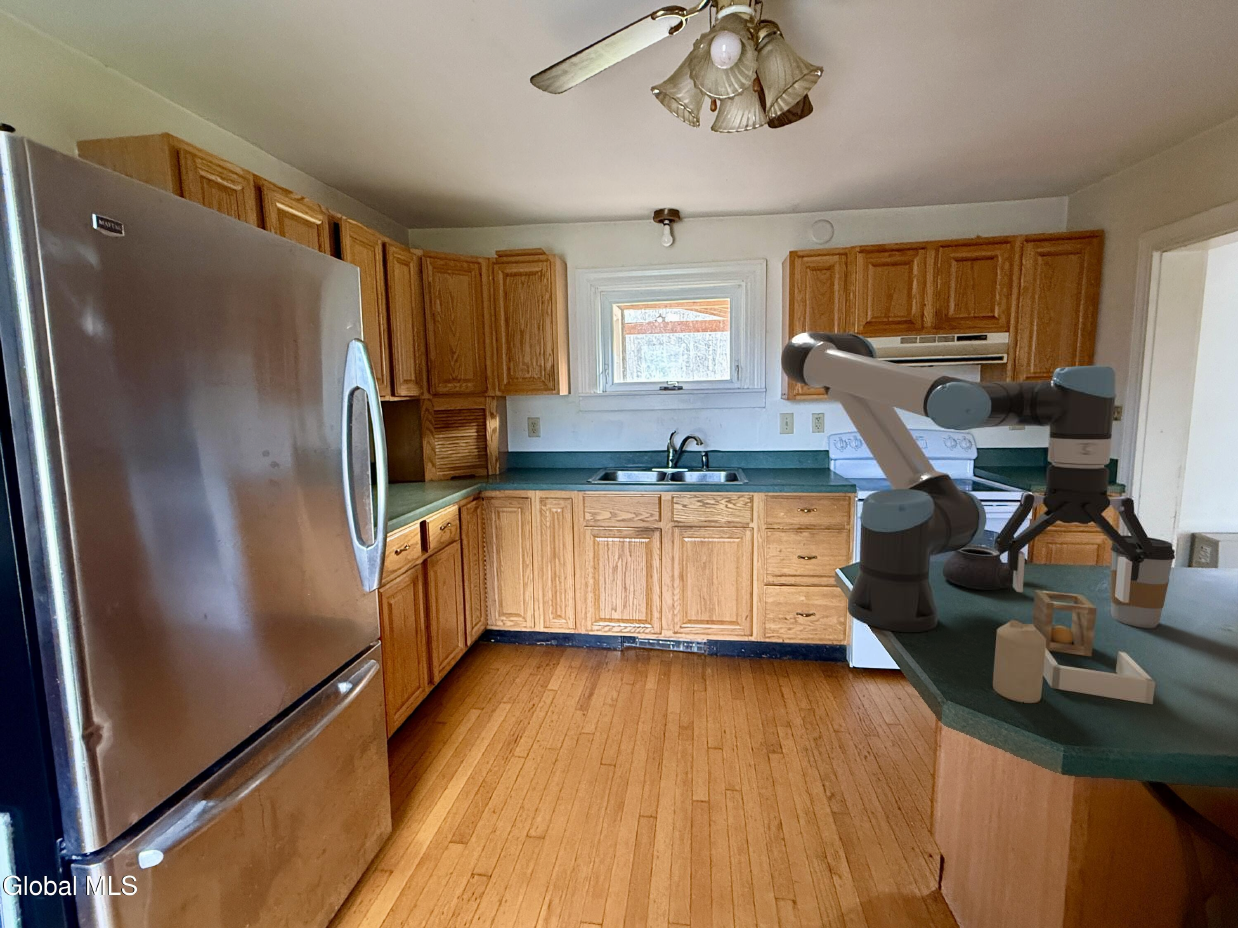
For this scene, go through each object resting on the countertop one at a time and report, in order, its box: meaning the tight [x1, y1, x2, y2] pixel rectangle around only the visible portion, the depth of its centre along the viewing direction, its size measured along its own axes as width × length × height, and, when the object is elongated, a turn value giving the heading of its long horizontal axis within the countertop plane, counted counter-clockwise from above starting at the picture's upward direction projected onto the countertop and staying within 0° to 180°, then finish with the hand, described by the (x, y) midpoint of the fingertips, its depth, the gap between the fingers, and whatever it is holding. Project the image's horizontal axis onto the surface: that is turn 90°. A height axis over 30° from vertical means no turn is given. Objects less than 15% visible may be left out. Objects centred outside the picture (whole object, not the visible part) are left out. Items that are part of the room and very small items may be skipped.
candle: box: [992, 619, 1046, 704], centre depth 76 cm, size 6×6×10 cm
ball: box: [1050, 625, 1074, 645], centre depth 90 cm, size 3×3×3 cm
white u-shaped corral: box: [1043, 649, 1156, 705], centre depth 79 cm, size 11×9×3 cm
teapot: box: [942, 535, 1029, 591], centre depth 120 cm, size 19×15×10 cm
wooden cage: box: [1031, 589, 1097, 657], centre depth 90 cm, size 6×6×8 cm
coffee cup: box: [1110, 534, 1176, 629], centre depth 98 cm, size 8×8×15 cm
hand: (1067, 594), depth 89 cm, fingers open, 13 cm apart
